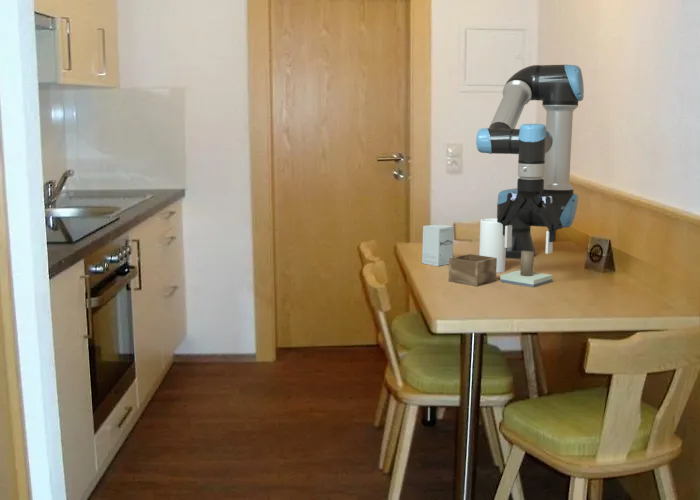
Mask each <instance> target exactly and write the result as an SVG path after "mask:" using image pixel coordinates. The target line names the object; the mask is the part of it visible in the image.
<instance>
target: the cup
mask: <svg viewBox="0 0 700 500" xmlns="http://www.w3.org/2000/svg"><path fill="white" fill-rule="evenodd" d="M479 223H480V225H479V248H478V250H479V252H478V253H479V254H478V255H480V256H487V257H494V258H497V266H496V274H497V273H498V274H501V273H504V272H505V271H506V259H507V258H506V248H505V236H503V225H502V224H501V223H498V222H497V218H481V219H480V221H479Z"/></svg>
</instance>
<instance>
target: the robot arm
mask: <svg viewBox="0 0 700 500" xmlns="http://www.w3.org/2000/svg"><path fill="white" fill-rule="evenodd" d="M584 92H585V90H584V79H583V73H582V69H581V68H580V66H579V65H576V64H574V65H573V64H546V65H545V64H534V65H528V66H526V67H524V68H522V69H520V70H518V71H517V72H515V73H514V74H513V75H512V76H511V77H509V78H508V80H507V81H506V83H505V85H504V86H503V89H502V99H501V100H500V103H499V105H498V107H497V109H496V111H495V114H494V116H493V118H492V120H491V123H490V125H489V126H488V127H485V128H480V129H478V130H477V133H476V140H475V142H476V143H475V144H476V149H477V151H478V152H479V153H482V154H490V155H492V154H495V155H496V154H500V155H501V154H503V155H504V154H505V155H507V154H509V155H518V160H517V162H518V163H517V176H518V178H517V184H516V185H517V186H516V187H517V188H509V189H503V190H501V191H499V193H498V195H497V203H496V219H497V222H498V223H501V224H502V225H503V236H505V248H506V259H521V251H533V252H534V256H535V254H536V249H535V245H534V242H533V238H532V234H531V228H532V227H541V228H542V227H543V228H544V227H545V228H547V229H548V230H546V232H545V233H546V234H545V254H547V255H548V254H552V253H553V246H554V245H553V243H555V242H556V238H557V235H556V234H557V230H561V229H563V228H564V229H566V228H570V227H571V226H572V225H573V223H574V220H575V217H576V212H577V207H578V203H579V201H578V200H579V195H578V194H577V193H575V192H574V190H575V189H574V187H573V186H572V185H571V184H570V179H571V178H570V177H571V176H570V175H571V174H570V173H571V157H572V156H571V155H572V138H573V137H572V136H573V120H574V111H575V110H576V109H577V108H578V107H579V102H581V101H583V100H584V94H585V93H584ZM530 101H541V102H542V103H541V104H542V108H543V109H544V110H545V111H546V118H545V119H546V121H545V124H543V123H522V124H521V125H520V126H519V128H516V126H517V124H518V121H519V120H520V117H521V115H522V112H523V110H524V108H525V105H527V104H528V103H530Z"/></svg>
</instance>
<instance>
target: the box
mask: <svg viewBox="0 0 700 500" xmlns="http://www.w3.org/2000/svg"><path fill="white" fill-rule="evenodd" d="M496 266H497V258H494V257H487V256H480V255H479V254H474V253H473V254H472V253H465V254H461V255H457V256H453V257H452V258H449V264H448V282H449V283H457V284H463V285H467V286H472V287H481V286H484V285H488V284H490V283H494V282H496V281H497V273H496Z"/></svg>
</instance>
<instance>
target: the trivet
mask: <svg viewBox="0 0 700 500" xmlns="http://www.w3.org/2000/svg"><path fill="white" fill-rule="evenodd" d="M499 282H500V283H503V284H504V283H505V284H510V285H517V286H522V285H523V287H529V288H537V287H538V286H539V285H540V286H543V285H546V284H549V283H552V282H553V278H552V279H551V280H547V281H544V282H541V283H537V284H534V285H533V284H527V283H520V282H514V281H508V280H502V279H500V281H499ZM545 283H546V284H545ZM542 284H543V285H542Z"/></svg>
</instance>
